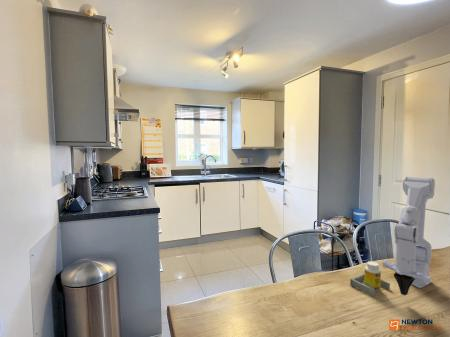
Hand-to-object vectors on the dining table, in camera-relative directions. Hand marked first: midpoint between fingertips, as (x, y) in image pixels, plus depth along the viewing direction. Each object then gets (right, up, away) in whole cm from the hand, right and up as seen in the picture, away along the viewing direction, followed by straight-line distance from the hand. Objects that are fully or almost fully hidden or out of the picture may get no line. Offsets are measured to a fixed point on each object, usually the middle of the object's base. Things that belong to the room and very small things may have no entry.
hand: (404, 293), depth 90 cm
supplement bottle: (-6, -3, +10) cm, 12 cm away
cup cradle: (-6, -3, +10) cm, 12 cm away
